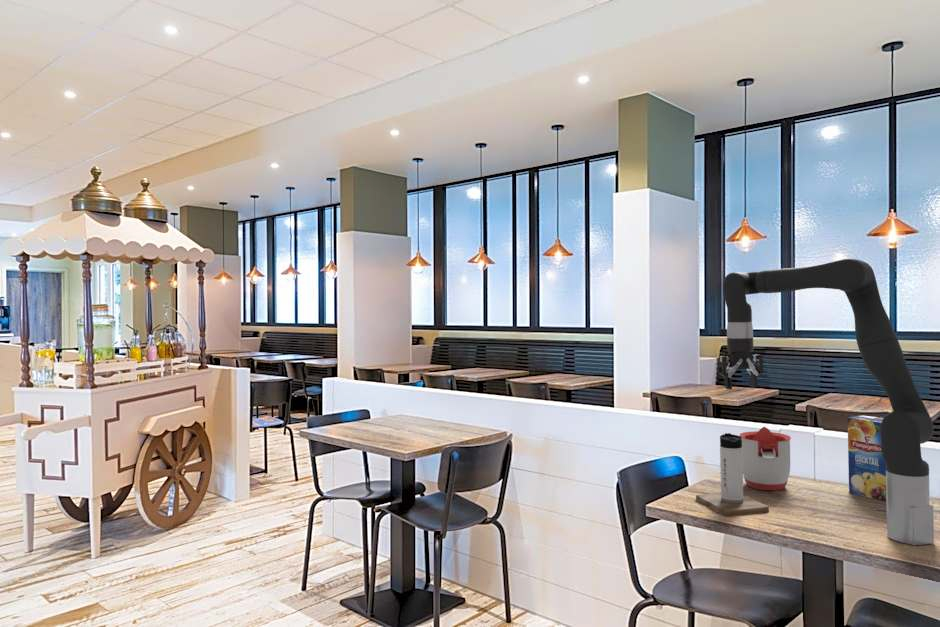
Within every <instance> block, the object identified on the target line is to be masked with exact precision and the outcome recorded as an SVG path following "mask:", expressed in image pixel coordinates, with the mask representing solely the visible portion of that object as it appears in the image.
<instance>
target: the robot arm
mask: <svg viewBox="0 0 940 627" xmlns="http://www.w3.org/2000/svg"><path fill="white" fill-rule="evenodd" d="M722 282H723V283H722V293H723V297H724V302H725V305H726V308H727V313H726V314H727V315H726V316H727V317H726V318H727V321H726V322H727V325H726V348H727V350H726V351H727V352H728V355H727V356H725V355H719V356H718V362H717V363H718V364H717V365H718V366H717V370H718V371H717V374H718V375H719V376H722V377H723V378H724V379H723V380H724V381H723V382H724V383H723V384H724V387H725V389H726V390H733V378H732V376H733V374H735V372H737V370H738V371H740V370H746V371H747V372H748V373H749V387H750V388H751V389H756V388H757V387H758V376H759V375H762V374H764V362H763V355H762V354H759V353H758V354H757V353H754V354H753V352H754V328H753V312H752V310H753V309H752V306H751V304H750V303H748V302H747V295H756V294H772V293H773V294H774V293H775V294H777V293H778V294H779V293H788V292H795V291H799V290H807V289H832V290H840V291H842V292H844V293H845V296H846V297H847V300H848V302H849V304H850V307H851V308H852V312H853V318H854V331H855V332H854V333H855V338H856V345H857V348H858V350H859V354H860V355H861V356H860V357H861V359H862V361H863V364H864V365H865V367H866V369H867V370H868V373H870V374H871V376H872V377H873V378H874V379H875V380H876V381H877V383H878V384H879V385H880V386H881V387H882V389H883V390H884V392H885V394H886V395H887V398H888V400H889V403H890V407H891V408H892V411H890V412H889V413H887V414H885V415H884V416H883V417H882V418H883V420H882V423H881V447H882V457H883V460H884V462H885V464H886V502H885V503H886V536H887V537H888V538H889V539H891V540H893V541H895V542H899V543H901V544H902V543H903V544H908V545H912V546H923V545H931V544H935V533H934V532H935V530H934V525H935V524H934V517H935V516H934V506H933V505H932V504H931V503H930V501H931V500H930V466H929V463H928V461H925V460H923V458H922V450H921V448H922V447H921V444H925V443H927V442H928V441H930V440H931V439H932V437H933V435H934V432H935V431H934V430H935V426H934V422H933V419H932V417H931V415H930V413H929V411H928V409H927V407H926V406H925V404H924V401H923V399H922V398H921V396H920V394H919V392H918V389H917V387H916V385H915V383H914V380H913V378H912V373H911V372H910V370H909V366H908V364H907V362H906V358H905V356H904V353H903V350H902V347H901V344H900V341H899V340H898V336H897V334H896V333H895V330H894V328H893V325H892V323H891V320H890V318H889V316H888V314H887V311H886V310H885V308H884V305H883V302H882V299H881V295H880V291H879V287H878V284H877V283H878V282H877V279H876V274H875V271H874V270H873V268H872V266H871V265H870V264H869V263H868V262H866V261H863V260H861V259H859V258H853V257H847V258H842V259H838V260H835V261H830V262H826V263H822V264H816V265H812V266H802V267H789V268H788V267H787V268H774V269H765V270H760V271H747V272H736V271H735V272H730V273H728V274H727V275H726V276H725V277H724V279H723V281H722ZM727 363H728V365H727Z"/></svg>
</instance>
